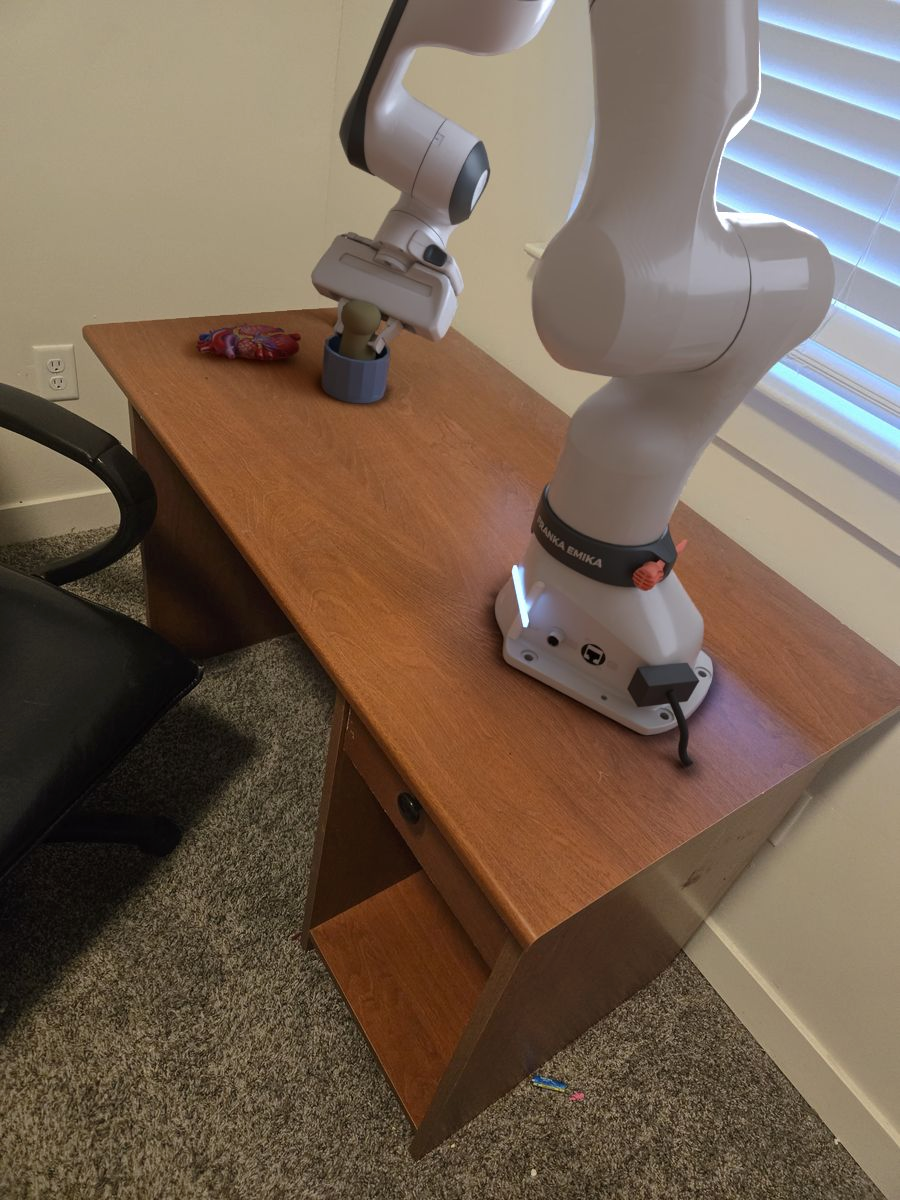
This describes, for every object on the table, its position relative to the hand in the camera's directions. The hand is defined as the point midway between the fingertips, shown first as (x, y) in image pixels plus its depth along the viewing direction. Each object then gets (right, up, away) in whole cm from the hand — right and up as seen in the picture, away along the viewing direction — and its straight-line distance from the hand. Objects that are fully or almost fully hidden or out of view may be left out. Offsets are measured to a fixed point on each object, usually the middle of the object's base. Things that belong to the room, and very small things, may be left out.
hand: (355, 342), depth 104 cm
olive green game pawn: (-1, -4, +4) cm, 6 cm away
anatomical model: (-16, +1, +7) cm, 18 cm away
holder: (-1, -5, +5) cm, 7 cm away
